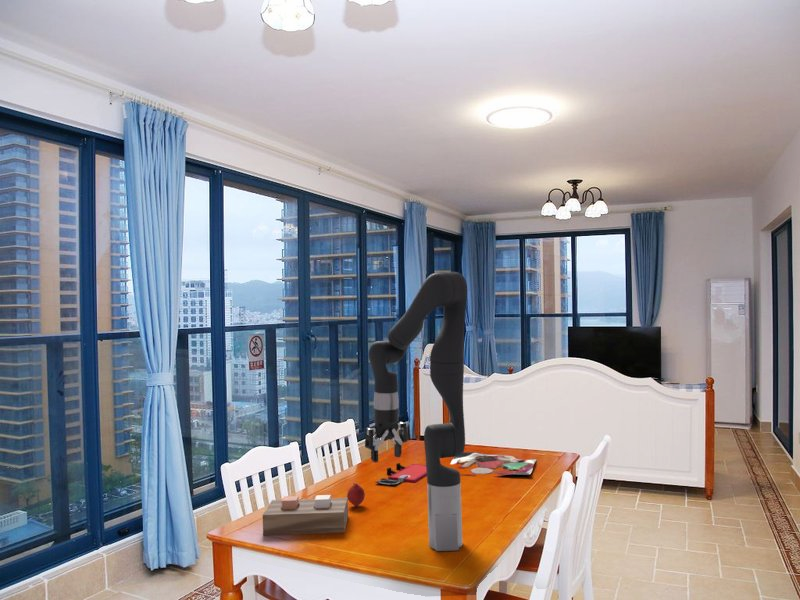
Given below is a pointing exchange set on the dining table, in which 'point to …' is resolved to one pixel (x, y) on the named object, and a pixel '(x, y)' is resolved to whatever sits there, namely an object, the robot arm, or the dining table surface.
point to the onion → (356, 495)
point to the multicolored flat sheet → (493, 464)
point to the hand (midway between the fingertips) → (386, 459)
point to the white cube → (323, 501)
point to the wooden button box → (305, 518)
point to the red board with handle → (404, 474)
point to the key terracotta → (290, 502)
